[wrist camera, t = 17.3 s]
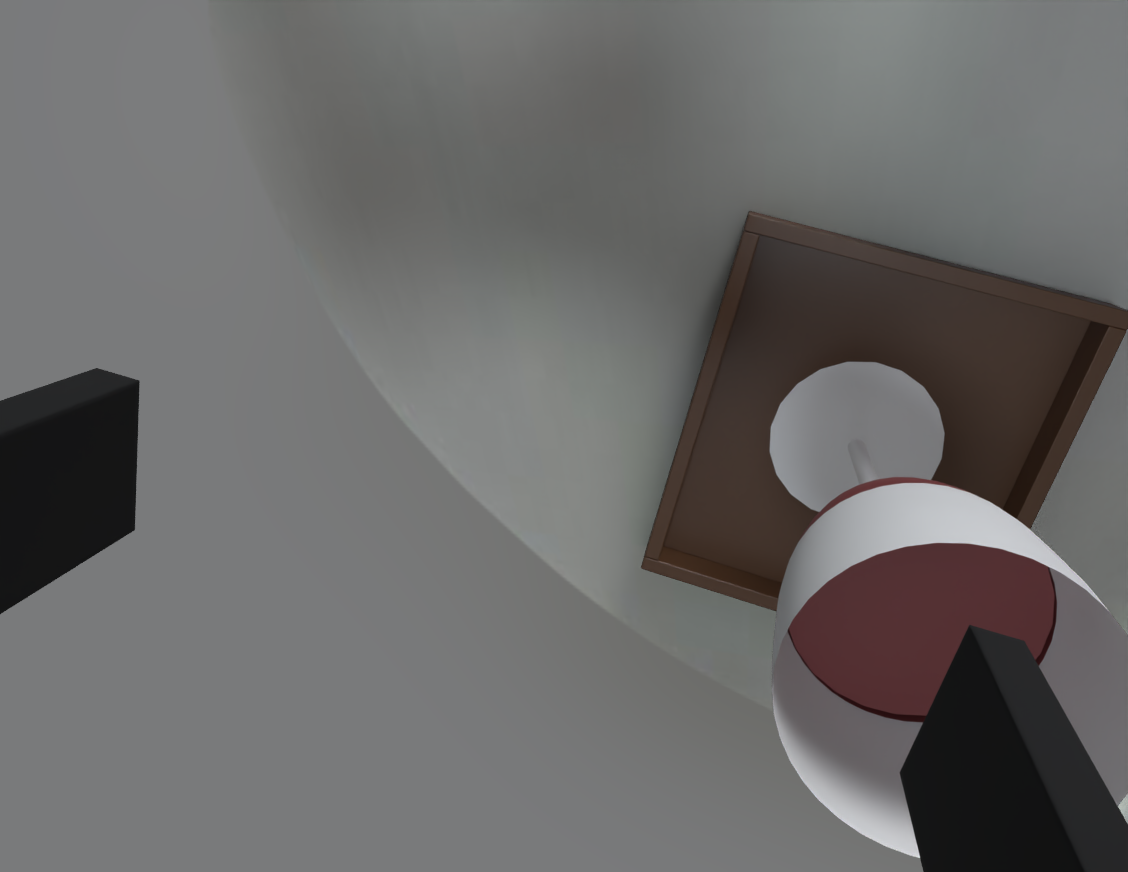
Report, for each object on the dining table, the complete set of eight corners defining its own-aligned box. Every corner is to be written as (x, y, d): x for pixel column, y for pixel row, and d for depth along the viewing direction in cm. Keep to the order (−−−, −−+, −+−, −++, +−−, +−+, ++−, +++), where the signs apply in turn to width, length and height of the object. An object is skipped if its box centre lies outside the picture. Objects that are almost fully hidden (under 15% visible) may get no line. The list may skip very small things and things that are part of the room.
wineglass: (904, 318, 41) (1067, 486, 20) (980, 491, 43) (1207, 819, 21) (732, 394, 44) (712, 612, 23) (810, 554, 46) (861, 896, 24)
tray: (749, 210, 42) (748, 213, 39) (1112, 304, 39) (1135, 313, 37) (646, 548, 48) (640, 568, 46) (950, 643, 46) (961, 670, 44)
